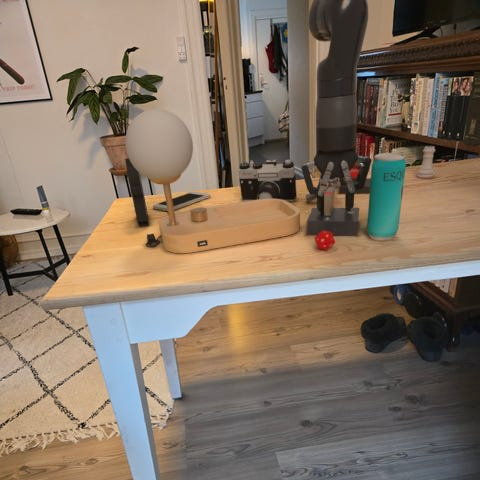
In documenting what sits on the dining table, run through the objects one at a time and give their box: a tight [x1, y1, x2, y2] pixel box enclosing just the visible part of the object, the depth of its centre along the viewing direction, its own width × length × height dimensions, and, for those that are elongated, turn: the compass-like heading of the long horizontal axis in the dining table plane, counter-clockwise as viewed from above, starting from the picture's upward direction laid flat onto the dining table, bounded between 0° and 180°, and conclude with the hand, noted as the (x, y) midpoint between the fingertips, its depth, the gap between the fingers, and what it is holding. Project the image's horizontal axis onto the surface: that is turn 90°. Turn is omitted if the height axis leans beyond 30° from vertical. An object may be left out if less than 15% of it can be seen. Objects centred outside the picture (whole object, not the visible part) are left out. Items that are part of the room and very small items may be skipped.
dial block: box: [304, 207, 360, 237], centre depth 86 cm, size 11×11×3 cm
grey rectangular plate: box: [324, 187, 336, 217], centre depth 85 cm, size 6×1×5 cm, turn 162°
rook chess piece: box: [416, 145, 436, 179], centre depth 114 cm, size 4×4×8 cm
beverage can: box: [366, 152, 407, 242], centre depth 76 cm, size 6×6×15 cm
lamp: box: [124, 108, 301, 254], centre depth 83 cm, size 33×17×25 cm, turn 105°
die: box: [313, 230, 336, 252], centre depth 76 cm, size 4×4×4 cm
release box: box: [338, 177, 371, 194], centre depth 110 cm, size 10×9×4 cm
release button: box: [350, 168, 359, 178], centre depth 110 cm, size 4×4×2 cm
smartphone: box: [152, 191, 211, 212], centre depth 113 cm, size 7×16×1 cm, turn 139°
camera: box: [237, 159, 297, 202], centre depth 104 cm, size 15×11×10 cm
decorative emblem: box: [124, 157, 150, 228], centre depth 98 cm, size 12×2×15 cm, turn 12°
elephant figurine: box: [304, 178, 341, 203], centre depth 102 cm, size 10×6×9 cm
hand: (334, 211), depth 86 cm, fingers open, 4 cm apart
